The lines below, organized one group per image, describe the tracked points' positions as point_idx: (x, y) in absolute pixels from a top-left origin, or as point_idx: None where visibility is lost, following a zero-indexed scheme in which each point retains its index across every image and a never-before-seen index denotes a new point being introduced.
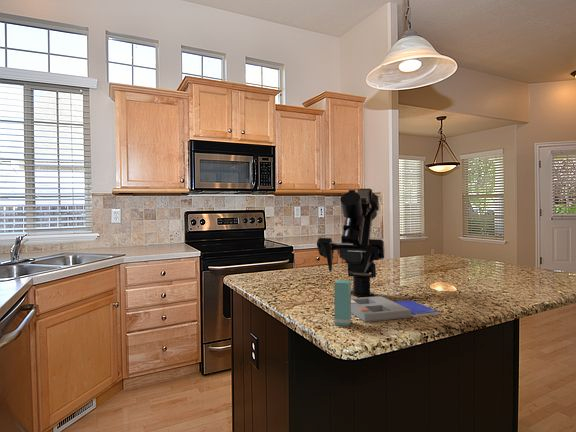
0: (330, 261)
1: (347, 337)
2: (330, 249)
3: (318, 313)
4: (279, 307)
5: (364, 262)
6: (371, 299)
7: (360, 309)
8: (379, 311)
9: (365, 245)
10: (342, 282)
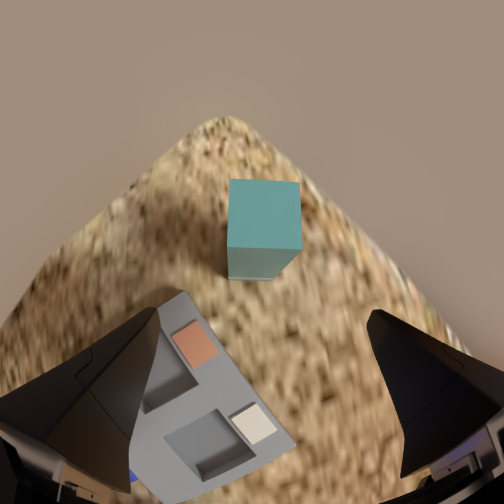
0: (404, 332)
1: (222, 163)
2: (468, 386)
3: (342, 334)
4: (443, 342)
5: (127, 337)
6: (188, 471)
7: (202, 332)
8: (154, 402)
9: None
10: (262, 191)
